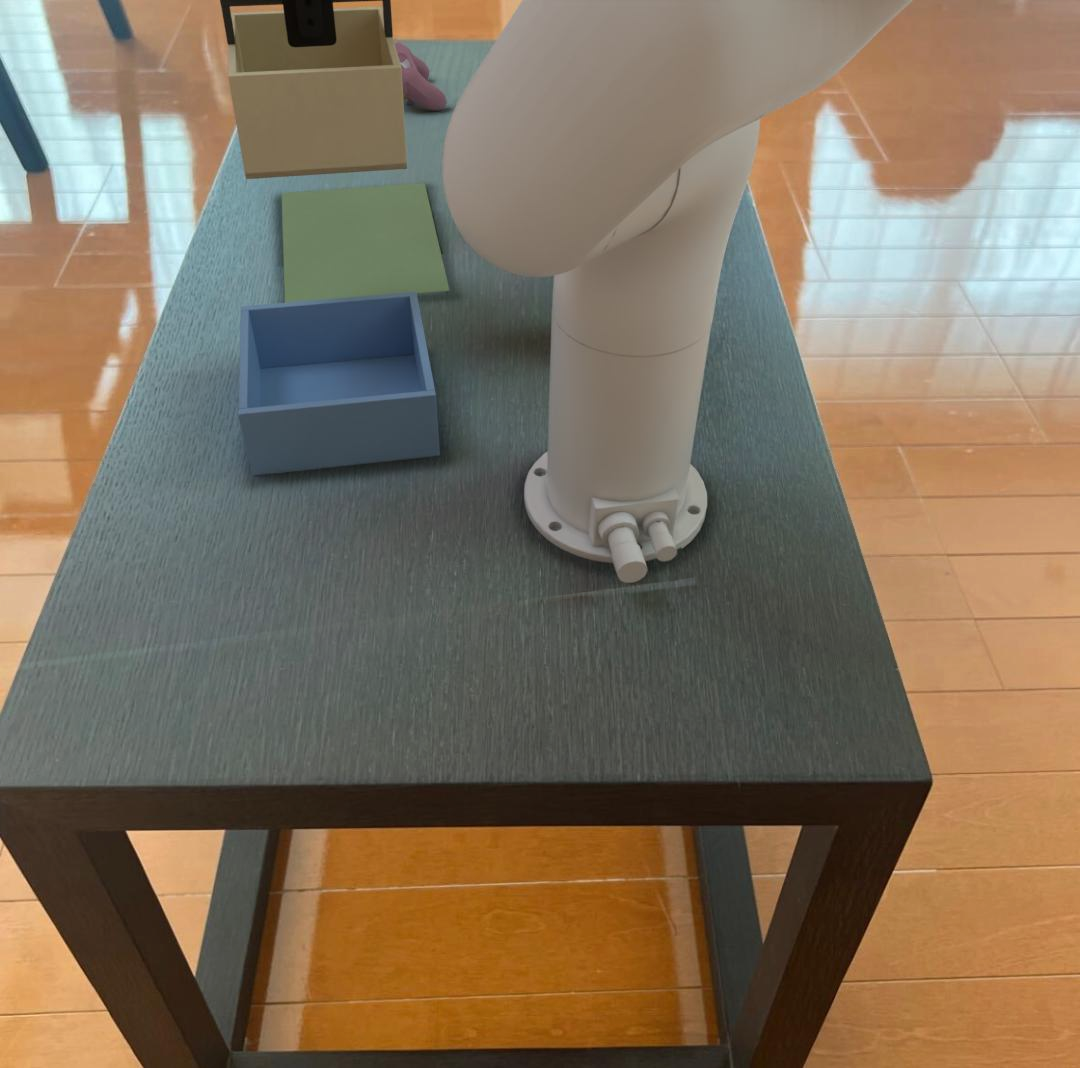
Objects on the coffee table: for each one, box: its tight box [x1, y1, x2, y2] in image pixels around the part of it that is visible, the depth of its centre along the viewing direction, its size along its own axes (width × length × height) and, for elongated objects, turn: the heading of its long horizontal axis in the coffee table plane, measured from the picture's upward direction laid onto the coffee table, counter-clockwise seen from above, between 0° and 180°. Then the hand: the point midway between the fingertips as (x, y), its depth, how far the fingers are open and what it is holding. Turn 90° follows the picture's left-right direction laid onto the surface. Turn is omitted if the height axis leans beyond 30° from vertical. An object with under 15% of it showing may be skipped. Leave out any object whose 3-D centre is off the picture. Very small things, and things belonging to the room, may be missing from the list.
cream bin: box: [219, 0, 408, 180], centre depth 74 cm, size 11×11×11 cm
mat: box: [281, 182, 451, 303], centre depth 99 cm, size 20×14×1 cm
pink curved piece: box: [394, 39, 448, 112], centre depth 120 cm, size 10×5×7 cm, turn 17°
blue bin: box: [237, 292, 441, 476], centre depth 79 cm, size 13×13×6 cm
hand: (311, 36), depth 72 cm, fingers closed on cream bin, 1 cm apart
